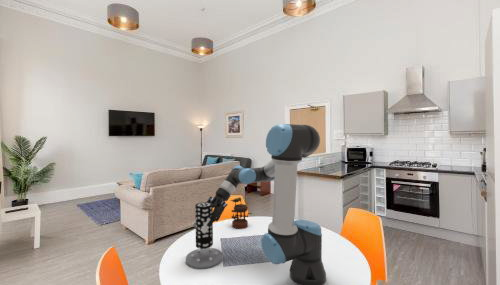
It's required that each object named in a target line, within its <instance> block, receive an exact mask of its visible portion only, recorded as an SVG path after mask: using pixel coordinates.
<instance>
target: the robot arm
mask: <svg viewBox="0 0 500 285" xmlns="http://www.w3.org/2000/svg"><path fill="white" fill-rule="evenodd" d="M320 143H321V138H320V134H319V132H318V131H317V129H316V128H314V126H311V125H309V124H294V123H293V124H289V123H282V124H279V123H278V124H275V125H274V126H272V127H271V128H270V129H269V131H268V132H267V135H266V138H265V147H266V151H267V153H268V154H269V155H271V160H270V161H268V162H267V163H266V164H265V165H264V166H261V167H253V168H252V167H251V168H249V167H247V168H244V167H243V166H241V165H239V164H237V165H235V166H234V167H233V168H232V169H231V171H230V172H229V174H228V175H227V176H226V177H225V179H224V181H222V183H221V184H220V186H219V188H218V189H217V190H216V191H215V196H214V197H212V196H210V197H209V198H208V200H207V201H206V202H208V203H212V204H213V213H212V215H211V217H209V218H210V219H208V220H207V222H206V223H205V225H204V226H203V227H202V229H201V231H202V232H203V233H206V231H207V230H208V229H209V227H210V226H211V225H212V223H213V224H214V222H218V221H219V220H220V218H221V216H222V214H223V213H224V210H225V209H226V207H227V206H228V203H227V201H229V199H230V197H231V195H232V194H233V193H234V191H235V190H236V189H237V188H238V186H239V185H242V184H243V185H250V184H254V183H255V184H256V183H262V182H272V181H273V198H272V199H273V200H272V201H273V202H272V219H271V220H272V221H271V222H270V223H268V226H267V233H263V235H262V236H261V247H262V250H263V253H264V255H265V257H266V258H267V260H268V261H269V262H270V263H271V264H272V265H280V264H285V263H286V262H289V261H291V264H290V267H289V277H290V279H291V280H292V281H293V282H294V283H296V284H298V285H324V284H325V283H326V280H327V273H326V270H325V267H324V263H323V259H322V254H323V253H322V251H323V250H322V247H323V246H322V241H323V238H322V237H323V233H322V227H321V226H320V224H318V223H316V222H314V221H310V220H306V219H297V220H295V215H296V199H297V198H296V196H297V183H298V182H297V180H298V165H299V164H300V163H301V162H303V159H306V158H308V157H309V156H312V154H314V153H316V152H317V150H318V148H319V147H320ZM191 226H192V227H194V228H195V229H196V219H194V221H193V222H192V223H191Z"/></svg>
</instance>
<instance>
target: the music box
mask: <svg viewBox="0 0 500 285" xmlns="http://www.w3.org/2000/svg"><path fill="white" fill-rule="evenodd" d="M229 201H230V202H232V203H234V205H233V209H231V213H232V215H231V219H232V221H231V222H232V223H231V224H232V228H233V229H235V230H244V229H246V228H248V227H249V222H248V220H247V219H246V218H249V215H253V213H251V212H247V211H248V209H249V208H248V205H246V204H243V203H242V198H241V197H236V198H234V199H231V200H229ZM239 202H240V203H239ZM238 203H239V204H238ZM246 212H247V215H246ZM234 213H235V214H234ZM242 213H243V214H242Z"/></svg>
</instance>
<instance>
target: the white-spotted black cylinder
mask: <svg viewBox="0 0 500 285" xmlns="http://www.w3.org/2000/svg"><path fill="white" fill-rule="evenodd" d="M194 206H195V207H194V208H195V209H194V210H195V217H194V218H195V220H196V228H195V247H196V248H197V249H206V248H212V246H213V245H214V229H213V228H214V226H213V225H214V222H213V223H212V225H211V226H210V227H209V229H208V230H207V231H206V233H203V232H202V231H201V229H202V227H203V226H204V225H205V223H206V222H207V220H208V219H210V218H209V217H211V215H212V213H213V210H214V208H213V204H212V203H208V202H207V201H205V202H204V201H203V202H198V203H196V204H195V205H194Z"/></svg>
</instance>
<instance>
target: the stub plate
mask: <svg viewBox="0 0 500 285" xmlns="http://www.w3.org/2000/svg"><path fill="white" fill-rule="evenodd" d="M223 260H224V253H223V251H221V250H220V249H219V248H214V247H209V248H206V249H200V248H197V249H194V250H193V251H190V252H189V253H187V255H186V256H185V265H187V266H188V267H189V268H191V269H195V270H207V269H211V268H214V267H216V266H218V265H219V264H221V263H222V262H223Z"/></svg>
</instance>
